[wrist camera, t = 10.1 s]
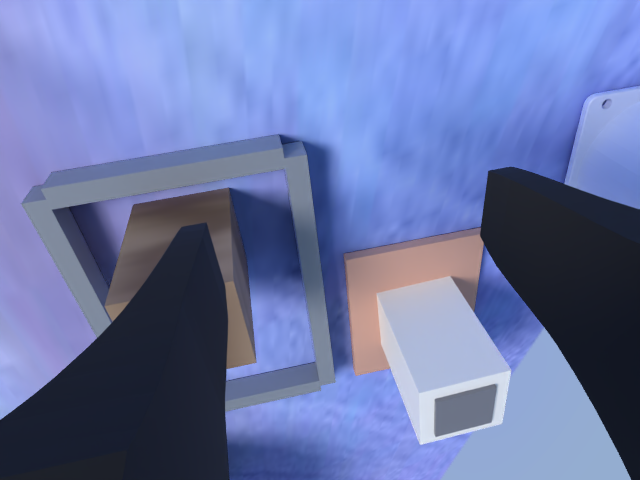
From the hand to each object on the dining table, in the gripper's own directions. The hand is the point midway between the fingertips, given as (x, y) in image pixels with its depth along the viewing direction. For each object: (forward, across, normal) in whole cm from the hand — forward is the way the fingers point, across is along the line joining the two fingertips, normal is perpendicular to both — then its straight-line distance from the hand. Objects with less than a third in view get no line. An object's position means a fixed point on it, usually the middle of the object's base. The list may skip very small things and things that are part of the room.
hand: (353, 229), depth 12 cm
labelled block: (+10, -6, +14) cm, 18 cm away
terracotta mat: (+10, -6, +14) cm, 18 cm away
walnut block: (+10, +6, +6) cm, 14 cm away
